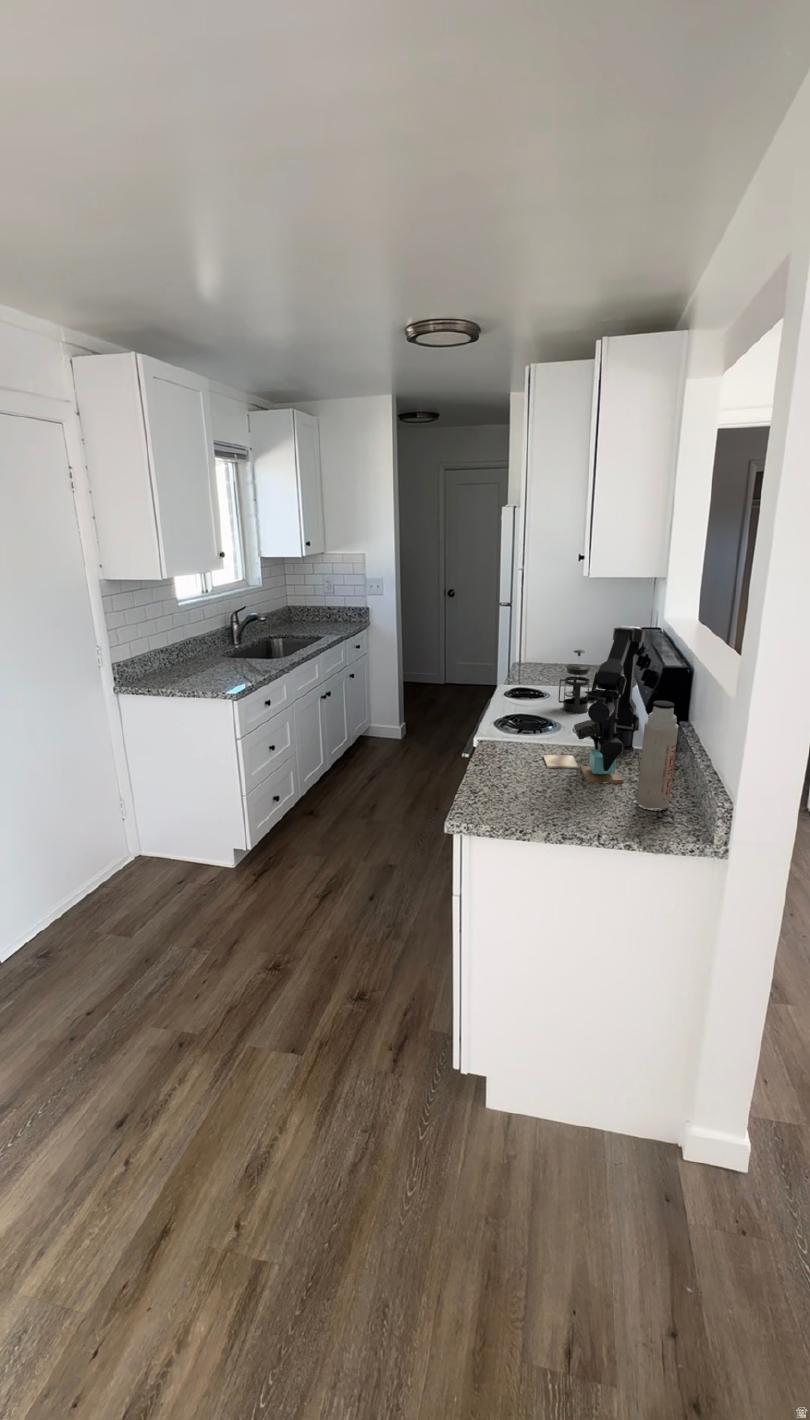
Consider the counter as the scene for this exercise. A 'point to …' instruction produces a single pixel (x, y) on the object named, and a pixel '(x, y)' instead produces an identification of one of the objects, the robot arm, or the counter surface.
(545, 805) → the counter surface
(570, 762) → the board
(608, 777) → the post stand
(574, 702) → the french press
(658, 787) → the thermos bottle
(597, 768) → the teal cube
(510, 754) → the counter surface
